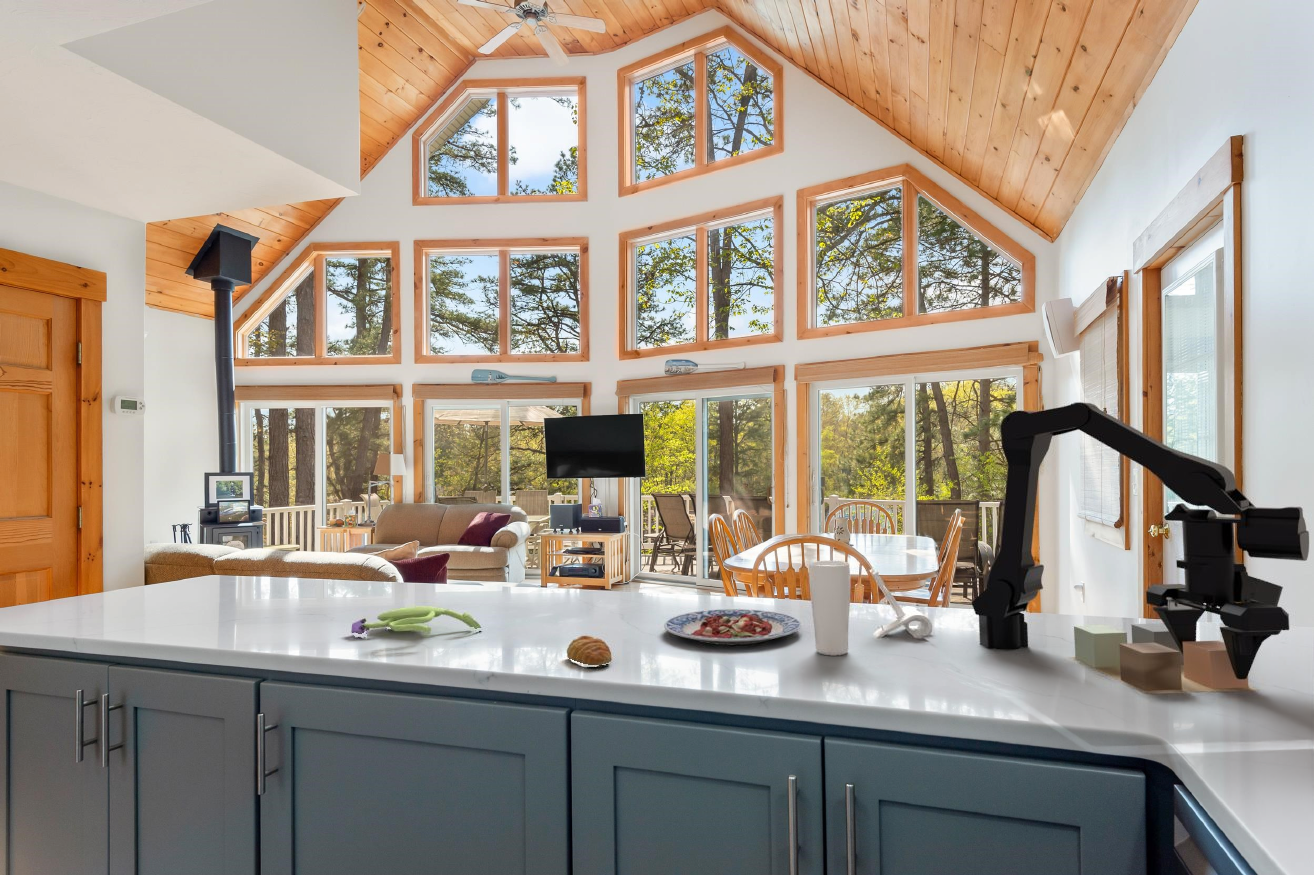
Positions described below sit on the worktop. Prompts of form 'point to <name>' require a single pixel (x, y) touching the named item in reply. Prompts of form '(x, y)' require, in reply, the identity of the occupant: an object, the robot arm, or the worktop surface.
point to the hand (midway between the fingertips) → (1214, 669)
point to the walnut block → (1150, 666)
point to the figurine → (411, 619)
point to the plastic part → (902, 615)
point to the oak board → (1186, 687)
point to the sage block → (1098, 645)
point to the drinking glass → (830, 605)
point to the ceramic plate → (732, 626)
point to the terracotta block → (1210, 665)
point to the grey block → (1154, 636)
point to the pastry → (589, 651)
